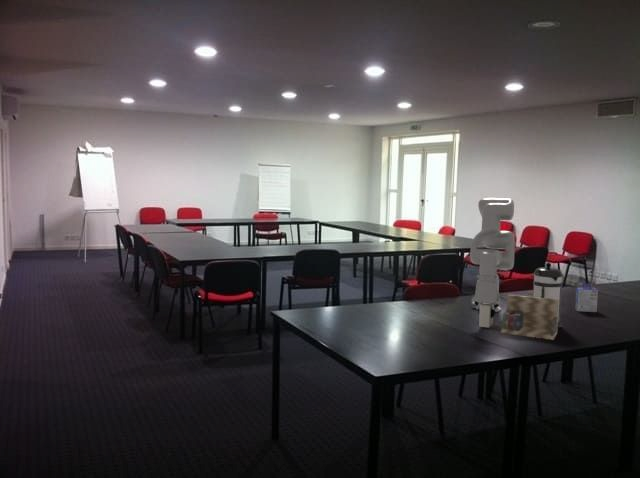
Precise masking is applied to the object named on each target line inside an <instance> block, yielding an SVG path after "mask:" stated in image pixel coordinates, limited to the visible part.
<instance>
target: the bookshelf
mask: <svg viewBox="0 0 640 478" xmlns="http://www.w3.org/2000/svg"><path fill="white" fill-rule="evenodd" d="M506 295H507V296H506V298H507V300H506V311H504V312H502V323H501V325H502V326H501V330H500V333H502V334H509V335H516V336H523V337H529V338H535V337H536V338H535V339H542V338H543V339H544V340H549V339H550V340H552V341H554V340H555V338H556V336H557V335H558V328H559V327H558V325H559V324H558V323H559V322H558V308H559V300H556V299H547V298H537V297H533V296H525V295H516V294H506Z"/></svg>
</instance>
